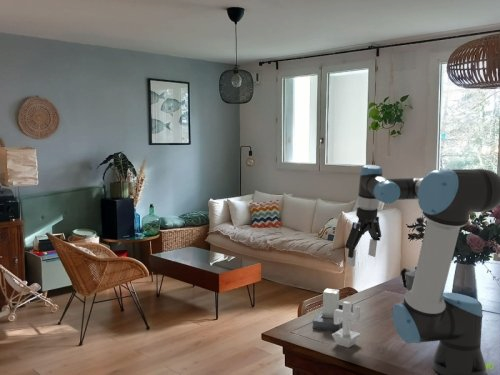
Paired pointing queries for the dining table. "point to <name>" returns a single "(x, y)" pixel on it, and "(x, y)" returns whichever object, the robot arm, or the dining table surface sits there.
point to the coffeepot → (408, 278)
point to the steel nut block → (330, 303)
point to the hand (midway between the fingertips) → (361, 260)
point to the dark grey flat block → (328, 321)
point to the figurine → (346, 325)
